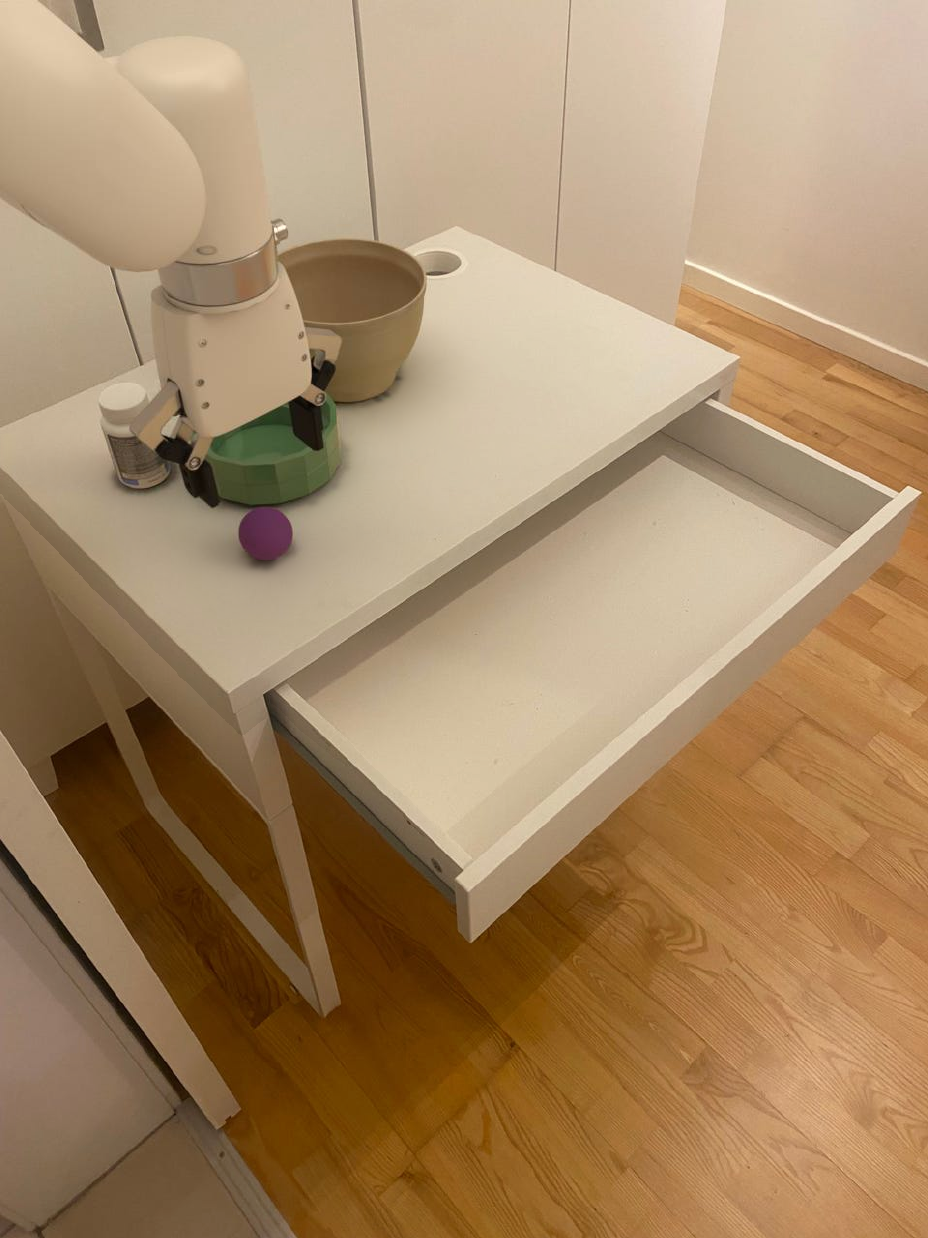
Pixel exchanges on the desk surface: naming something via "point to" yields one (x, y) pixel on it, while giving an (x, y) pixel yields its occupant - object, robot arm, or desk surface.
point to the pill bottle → (129, 437)
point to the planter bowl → (359, 307)
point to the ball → (265, 533)
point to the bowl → (273, 458)
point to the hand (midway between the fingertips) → (258, 469)
